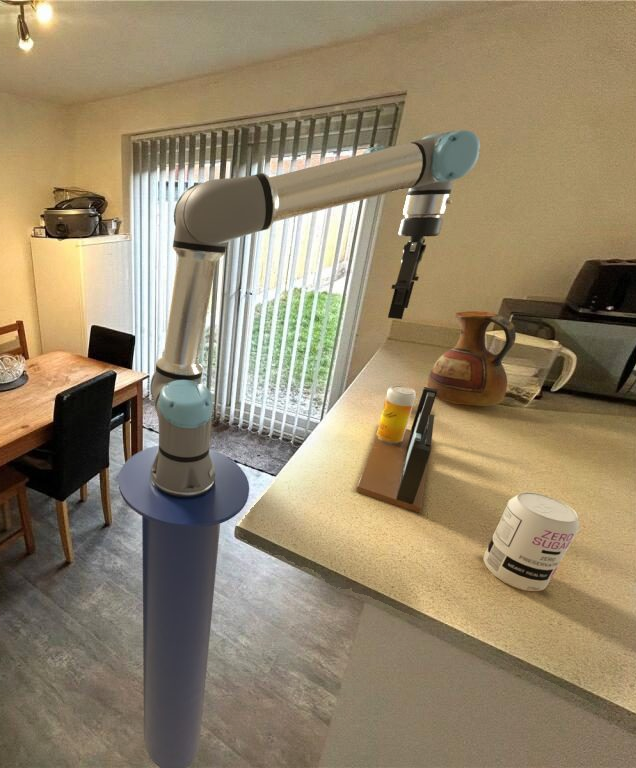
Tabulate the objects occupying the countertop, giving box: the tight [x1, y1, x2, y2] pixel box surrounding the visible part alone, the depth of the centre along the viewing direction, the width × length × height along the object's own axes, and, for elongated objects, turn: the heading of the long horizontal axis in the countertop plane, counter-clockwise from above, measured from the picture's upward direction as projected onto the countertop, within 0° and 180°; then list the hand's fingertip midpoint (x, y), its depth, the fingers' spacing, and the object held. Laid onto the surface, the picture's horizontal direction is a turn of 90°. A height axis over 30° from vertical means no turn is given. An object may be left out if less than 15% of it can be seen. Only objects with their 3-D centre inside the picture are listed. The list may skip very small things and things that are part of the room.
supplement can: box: [483, 491, 580, 592], centre depth 66 cm, size 8×8×15 cm
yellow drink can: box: [376, 385, 417, 444], centre depth 104 cm, size 6×6×15 cm
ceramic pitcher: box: [427, 310, 517, 407], centre depth 125 cm, size 20×20×30 cm
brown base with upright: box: [355, 386, 438, 514], centre depth 97 cm, size 12×37×15 cm, turn 142°
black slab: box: [402, 392, 435, 478], centre depth 89 cm, size 1×16×20 cm, turn 142°
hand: (398, 312), depth 94 cm, fingers open, 13 cm apart
